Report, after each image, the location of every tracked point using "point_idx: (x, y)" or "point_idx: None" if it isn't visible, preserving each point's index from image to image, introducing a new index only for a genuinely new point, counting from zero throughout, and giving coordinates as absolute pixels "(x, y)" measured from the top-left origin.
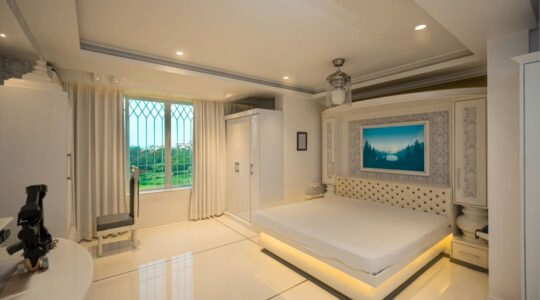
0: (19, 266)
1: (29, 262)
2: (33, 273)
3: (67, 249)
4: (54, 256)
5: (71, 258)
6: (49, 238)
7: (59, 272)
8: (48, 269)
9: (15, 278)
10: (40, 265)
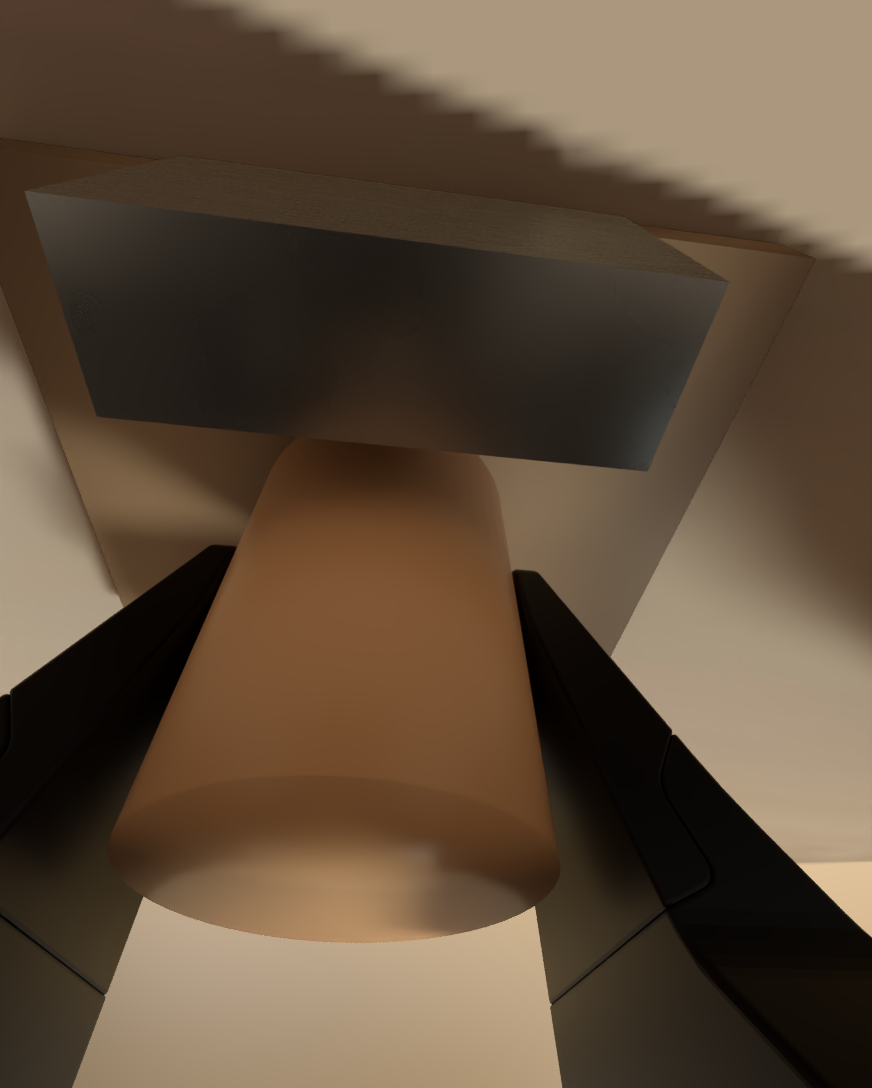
0: (442, 307)
1: (196, 641)
2: (154, 463)
3: (836, 817)
4: (787, 729)
5: None
6: None
7: (27, 674)
8: None
9: (344, 76)
10: None
